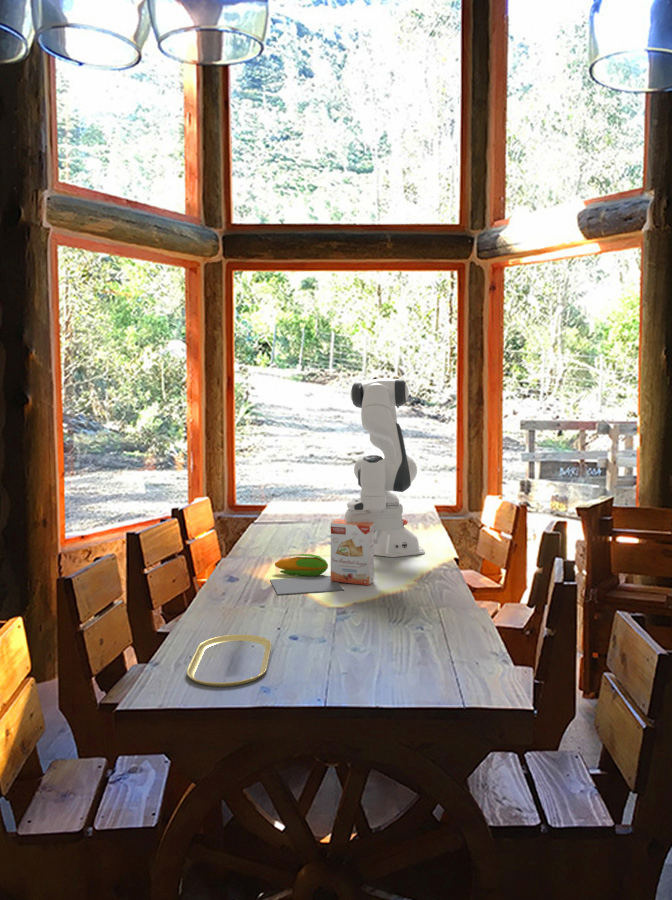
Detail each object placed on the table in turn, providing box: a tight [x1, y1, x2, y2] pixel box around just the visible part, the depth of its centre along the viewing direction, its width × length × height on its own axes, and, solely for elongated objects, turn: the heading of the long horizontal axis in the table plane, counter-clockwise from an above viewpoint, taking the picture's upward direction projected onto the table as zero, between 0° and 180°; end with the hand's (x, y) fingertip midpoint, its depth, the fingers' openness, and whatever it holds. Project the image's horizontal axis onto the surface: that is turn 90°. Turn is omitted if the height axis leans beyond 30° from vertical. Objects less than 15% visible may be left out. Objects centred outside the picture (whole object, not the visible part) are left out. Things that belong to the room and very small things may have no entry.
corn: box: [274, 553, 329, 577], centre depth 286 cm, size 7×8×20 cm
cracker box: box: [330, 518, 375, 586], centre depth 271 cm, size 14×6×21 cm, turn 71°
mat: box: [269, 575, 345, 596], centre depth 270 cm, size 22×20×1 cm
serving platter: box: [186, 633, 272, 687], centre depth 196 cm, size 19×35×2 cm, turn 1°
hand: (373, 543), depth 274 cm, fingers closed
